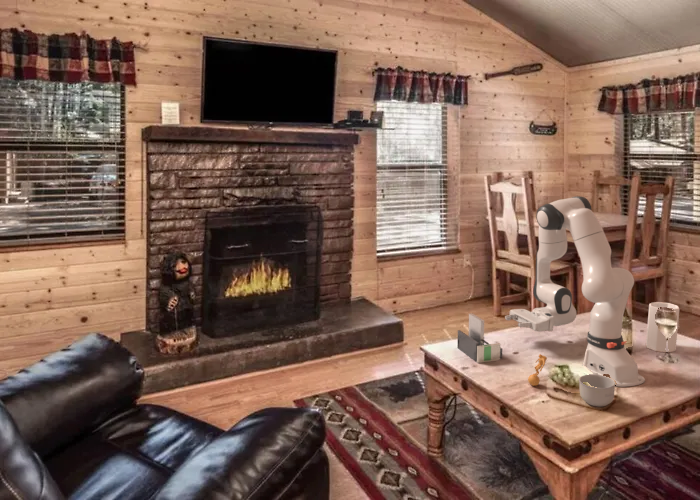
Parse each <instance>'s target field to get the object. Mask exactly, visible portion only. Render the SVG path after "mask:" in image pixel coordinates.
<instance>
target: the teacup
mask: <svg viewBox="0 0 700 500" xmlns="http://www.w3.org/2000/svg"><path fill="white" fill-rule="evenodd" d="M578 382H579V383H578V386H579V395H580V398H581V399H582V400H583V401H584V402H585V403H587V404H588V405H590V406H592V407H598V408H599V407H605V406H608V405H609V404H611V403H612V402H613V401H614V398H615V390H616V389H615V387H616V386H615V382H614V380H613V379H611V378H609V377H606V376H603V375H598V373H593V374H589V375H587V374H584V375H581V376H580V377H579V379H578ZM583 382H588V383H589V384H590V385H591V386H594V387H590V386H587V385H585V384H583ZM595 387H597V388H595Z"/></svg>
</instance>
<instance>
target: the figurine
mask: <svg viewBox="0 0 700 500" xmlns="http://www.w3.org/2000/svg"><path fill="white" fill-rule="evenodd" d="M546 362H547V356H545V355H542V354H541V353H539V354H538V358H537V360H535V363H537V364H536V365H535V366H534V370H535V373H533V374H531V375H529V376H528V377H527V382H528V383H529V385H530V386H532V387H536V386H538V385H539V384H540V381H541V380H540V377H539V374H540V372H542V371H543V368H544V366H546V365H545V364H546Z"/></svg>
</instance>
